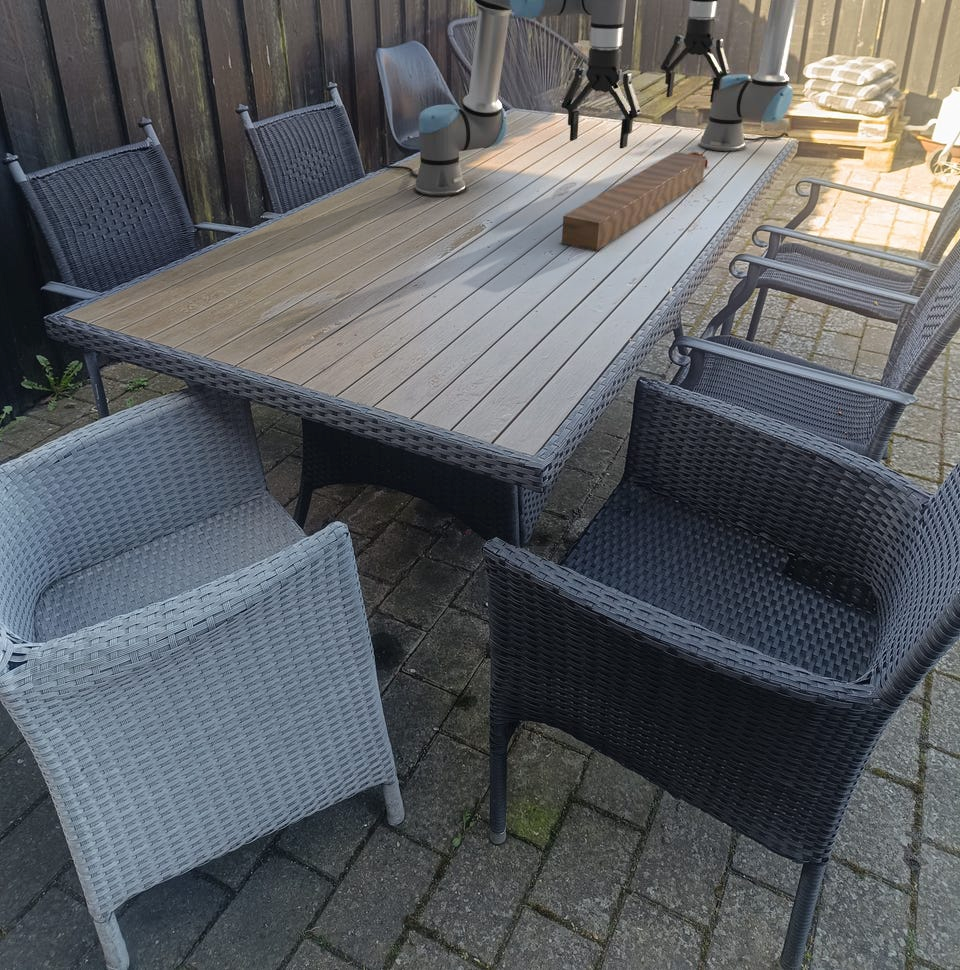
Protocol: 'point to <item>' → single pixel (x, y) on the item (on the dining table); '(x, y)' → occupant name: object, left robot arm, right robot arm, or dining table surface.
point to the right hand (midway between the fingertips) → (690, 99)
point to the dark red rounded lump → (699, 155)
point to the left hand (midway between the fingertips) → (598, 143)
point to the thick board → (631, 201)
